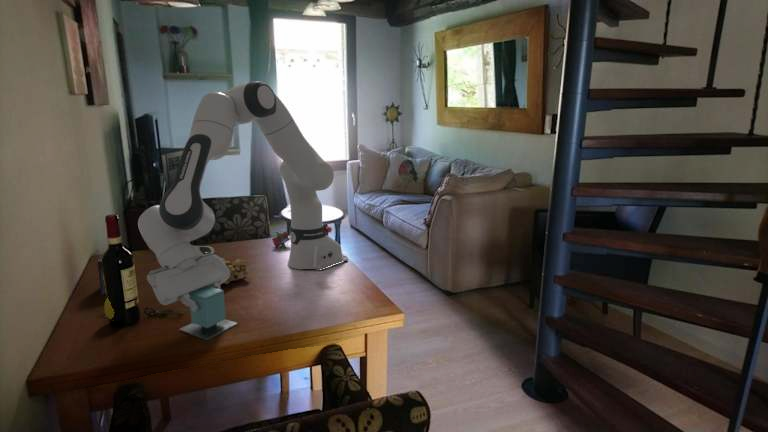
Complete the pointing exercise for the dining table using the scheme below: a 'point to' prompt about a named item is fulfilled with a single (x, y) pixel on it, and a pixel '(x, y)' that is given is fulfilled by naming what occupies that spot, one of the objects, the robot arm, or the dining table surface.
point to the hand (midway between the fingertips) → (209, 304)
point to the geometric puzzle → (280, 239)
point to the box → (101, 274)
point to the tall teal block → (208, 306)
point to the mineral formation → (236, 270)
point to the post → (208, 329)
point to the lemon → (108, 309)
